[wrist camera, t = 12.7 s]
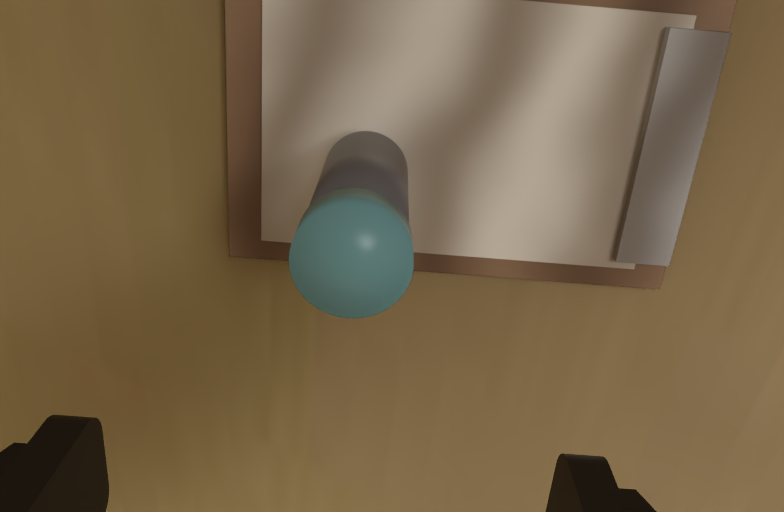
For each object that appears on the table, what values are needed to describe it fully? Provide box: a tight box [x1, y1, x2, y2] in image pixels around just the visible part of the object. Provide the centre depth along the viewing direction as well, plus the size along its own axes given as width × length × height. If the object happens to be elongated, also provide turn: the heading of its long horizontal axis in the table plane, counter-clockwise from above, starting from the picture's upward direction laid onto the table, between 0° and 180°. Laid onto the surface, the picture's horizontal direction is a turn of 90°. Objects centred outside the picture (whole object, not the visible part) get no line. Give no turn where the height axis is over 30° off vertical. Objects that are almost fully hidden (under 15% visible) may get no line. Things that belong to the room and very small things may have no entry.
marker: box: [289, 131, 414, 318], centre depth 25 cm, size 4×4×10 cm
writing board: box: [225, 0, 737, 289], centre depth 29 cm, size 20×13×2 cm, turn 85°
